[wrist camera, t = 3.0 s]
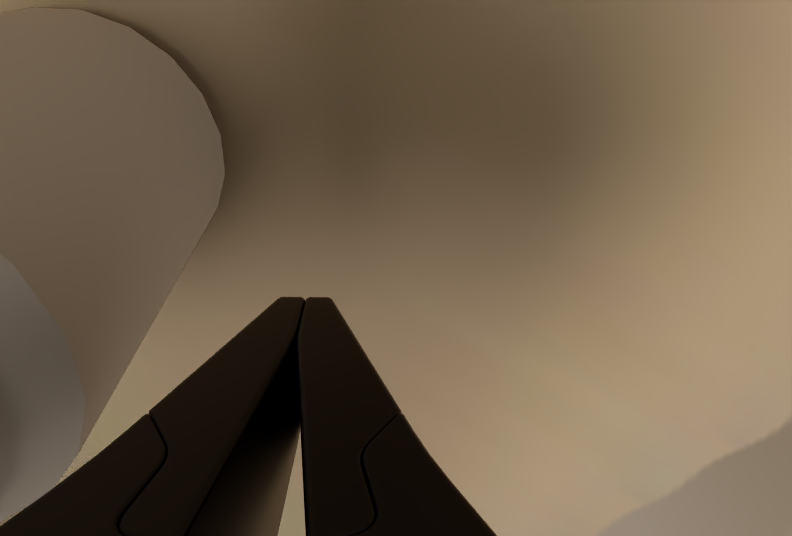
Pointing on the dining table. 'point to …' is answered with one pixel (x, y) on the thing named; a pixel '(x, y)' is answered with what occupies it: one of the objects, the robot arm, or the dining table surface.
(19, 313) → the can
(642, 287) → the dining table surface
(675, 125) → the dining table surface
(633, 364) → the dining table surface
